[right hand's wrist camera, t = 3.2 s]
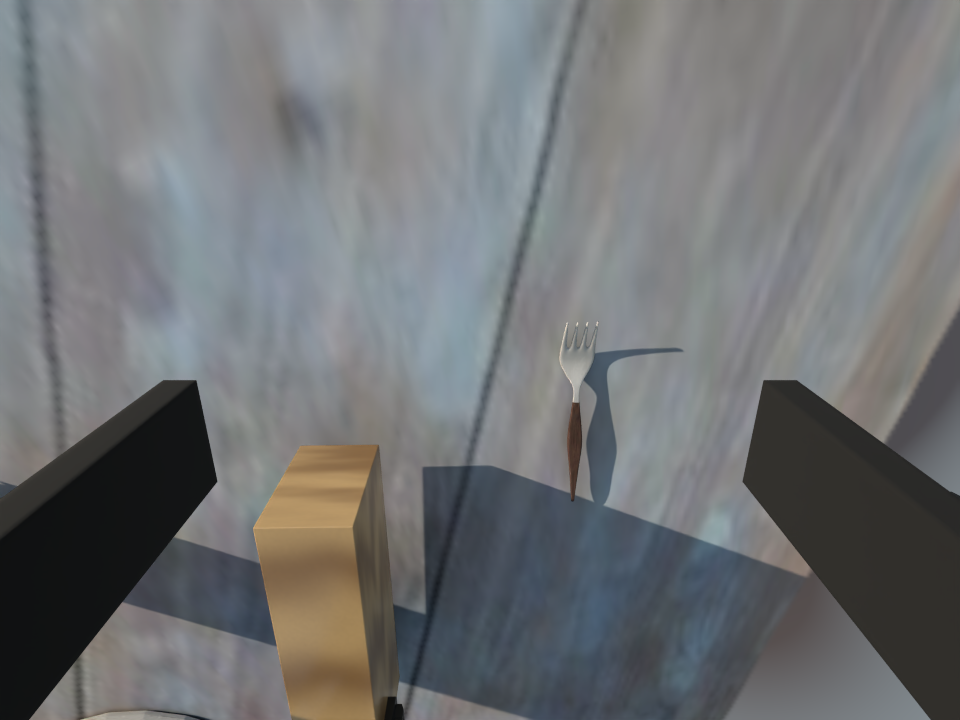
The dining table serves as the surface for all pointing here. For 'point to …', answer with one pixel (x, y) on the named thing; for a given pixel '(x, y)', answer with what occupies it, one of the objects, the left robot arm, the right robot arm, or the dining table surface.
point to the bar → (331, 584)
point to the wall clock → (139, 716)
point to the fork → (576, 393)
